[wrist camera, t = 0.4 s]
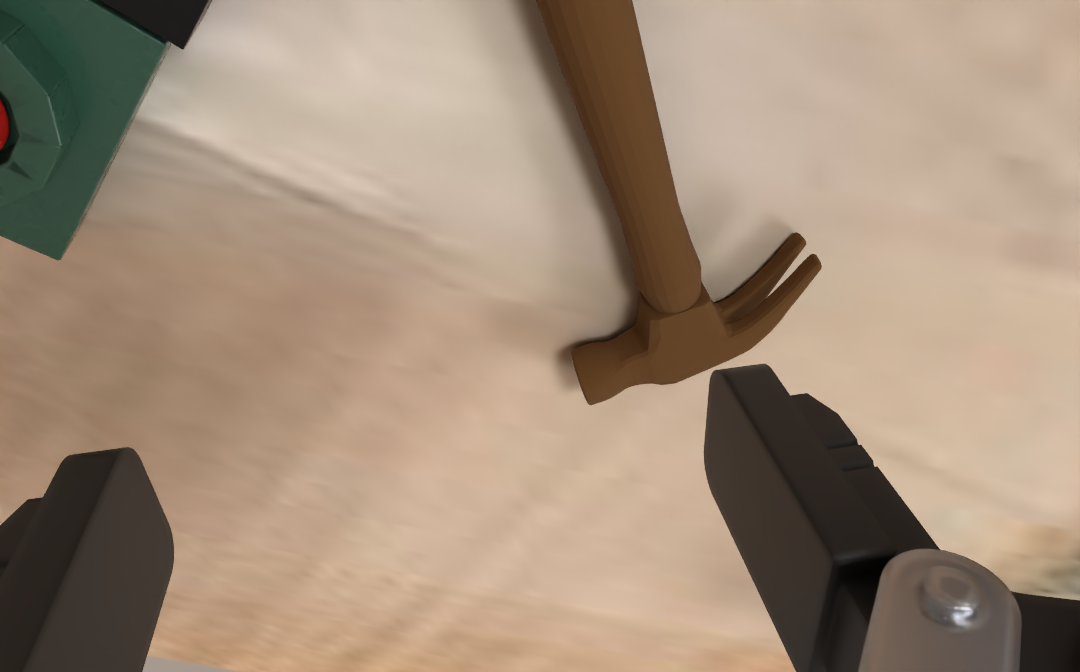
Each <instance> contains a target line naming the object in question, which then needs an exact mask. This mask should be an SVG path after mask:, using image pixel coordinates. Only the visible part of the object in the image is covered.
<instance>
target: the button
mask: <svg viewBox="0 0 1080 672" xmlns="http://www.w3.org/2000/svg"><path fill="white" fill-rule="evenodd" d="M8 135H9V120H8V115H7V112H6V109H5V107H4V105H3V103H2V101H1V99H0V151H1V149H2V148H3V147H4V145H5V143H6V142H7V139H8Z"/></svg>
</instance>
